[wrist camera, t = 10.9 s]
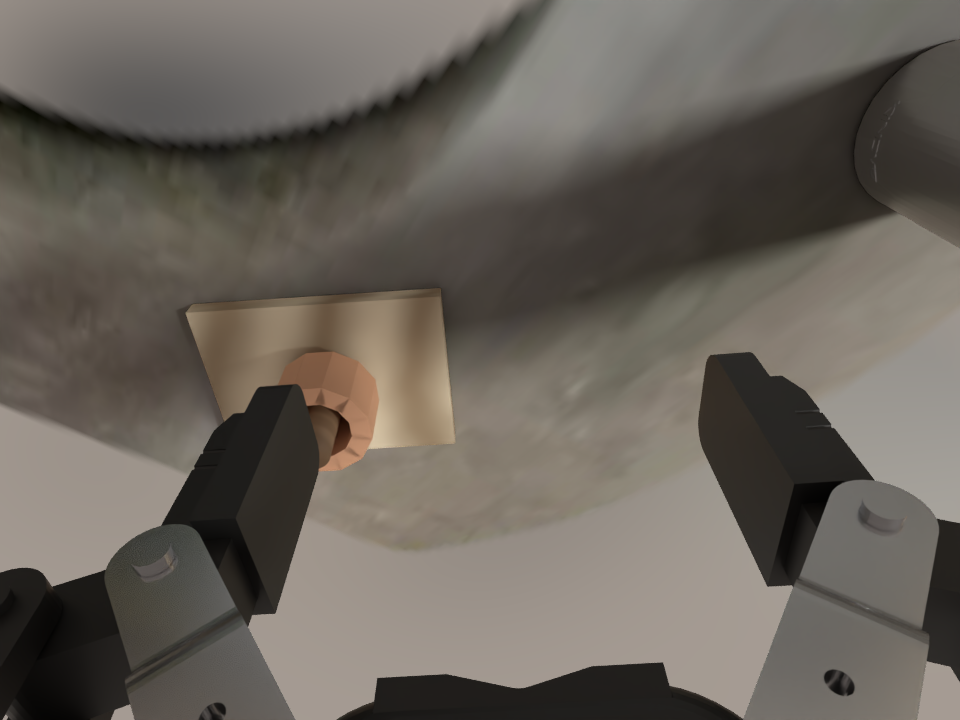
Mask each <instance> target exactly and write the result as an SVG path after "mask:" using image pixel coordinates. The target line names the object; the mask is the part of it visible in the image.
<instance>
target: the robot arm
mask: <svg viewBox="0 0 960 720" xmlns="http://www.w3.org/2000/svg"><path fill="white" fill-rule="evenodd" d="M854 160H855V169H856V172H857V176H858V179H859V181H860V183H861V184H862V186H863V187H864V189H865V190H866V192H867V193H868V194H869V195H871V196H872V197H873V198H874V199H876V200H877V201H879V202H880V203H882V204H884V205H886V206H887V207H889V208H891V209H893V210H894V211H896V212H898V213H900V214H901V215H903V216H905V217H907V218H908V219H910V220H912V221H914V222H915V223H917V224H918V225H920V226H922V227H923V228H925V229H927V230H929V231H931V232H932V233H934V234H936V235H938V236H939V237H941V238H943V239H945V240H946V241H948V242H950V243H952V244H953V245H955V246H957V247H959V248H960V39H959V40H956V41H952V42H948V43H945V44H941V45H939V46H937V47H934V48H932V49H930V50H928V51H926V52H924V53H922V54H920V55H919V56H917V57H916V58H914V59H913V60H912V61H910V62H909V63H907V64H906V65H904V66H903V67H902V68H901V69H900V70H899V71H898V72H897V73H896V74H895V75H893V76H892V77H891V78H890V79H889V80H888V81H887V82H886V83H885V85H884V86H883V87H882V89H881V90H880V91H879V92H878V94H877V95H876V96H875V97H874V99H873V100H872V102H871V104H870V106H869V108H868V109H867V111H866V113H865V115H864V116H863V119H862V122H861V125H860V127H859V130H858V133H857V137H856V143H855V149H854ZM698 428H699V437H700V442H701V445H702V448H703V451H704V453H705V455H706V457H707V459H708V461H709V464H710V466H711V468H712V470H713V472H714V474H715V476H716V478H717V481H718V482H719V485H720V487H721V489H722V491H723V493H724V495H725V498H726V499H727V502H728V504H729V506H730V508H731V510H732V512H733V514H734V517H735V519H736V521H737V523H738V525H739V527H740V529H741V531H742V533H743V535H744V538H745V540H746V542H747V544H748V546H749V548H750V550H751V553H752V555H753V557H754V559H755V561H756V563H757V565H758V567H759V570H760V572H761V574H762V576H763V578H764V580H765V582H766V584H767V586H768V587H769V586H786V585H792V586H793V589H792V592H791V594H790V597H789V600H788V603H787V605H786V608H785V610H784V613H783V616H782V618H781V621H780V623H779V626H778V629H777V631H776V634H775V637H774V639H773V642H772V645H771V648H770V650H769V653H768V655H767V658H766V661H765V663H764V666H763V668H762V671H761V674H760V676H759V679H758V682H757V684H756V687H755V690H754V692H753V695H752V698H751V700H750V703H749V706H748V708H747V711H746V714H745V716H744V719H742V718H741V717H739V716H738V715H736V714H735V713H734V712H732V711H730V710H728V709H727V708H725V707H723V706H722V705H720V704H718V703H716V702H714V701H712V700H710V699H708V698H705V697H703V696H701V695H699V694H696V693H693V692H690V691H687V690H684V689H681V688H676V687H672V686H669V683H668V679H667V676H666V672H665V668H664V665H663V663H645V664H627V665H609V666H592V667H589V668H586V669H582V670H580V671H576V672H573V673H570V674H567V675H564V676H561V677H558V678H555V679H552V680H549V681H545V682H542V683H539V684H536V685H533V686H530V687H526V688H519V689H517V688H510V687H505V686H501V685H496V684H491V683H486V682H481V681H476V680H471V679H467V678H462V677H457V676H452V675H447V674H444V675H425V676H407V677H391V678H390V677H388V678H377V686H376V692H375V700H374V702H372V703H369V704H366V705H364V706H361V707H359V708H357V709H355V710H353V711H351V712H348V713H347V714H345V715H343V716H342V717H340V718H338V719H337V720H917V716H918V710H919V704H920V698H921V692H922V686H923V680H924V674H925V668H926V662H927V661H929V662H933V663H937V664H941V665H946V666H950V667H951V668H952V670H953V671H954V673H955V675H956V676H957V678H958V680H959V681H960V523H956V522H950V521H945V520H940V519H936V517H935V516H934V514H933V513H932V511H931V510H930V509H929V508H928V507H927V506H926V505H925V504H924V503H923V502H922V501H921V500H919V499H918V498H916V497H915V496H913V495H912V494H910V493H908V492H907V491H904V490H902V489H900V488H898V487H895V486H892V485H890V484H886V483H882V482H878V481H875V480H874V479H873V477H872V476H871V475H870V474H869V472H868V471H867V470H866V469H865V467H864V466H863V465H862V463H861V462H860V461H859V460H858V458H857V457H856V456H855V454H854V453H853V452H852V450H851V449H850V448H849V447H848V445H847V444H846V443H845V442H844V440H843V439H842V438H841V437H840V435H839V434H838V432H837V431H836V430H835V429H834V428H831V423H830V422H829V421H828V419H827V418H826V417H825V416H824V415H823V413H820V412H819V408H818V407H817V405H816V404H815V403H814V401H813V400H812V399H811V398H810V396H809V395H808V394H807V392H806V391H805V390H803V389H802V388H800V387H799V386H797V385H795V384H794V383H792V382H791V381H789V380H788V379H786V378H785V377H783V376H771V377H770V376H769V375H768V373H767V372H766V370H765V369H764V368H763V366H762V365H761V363H760V362H759V361H758V359H757V358H756V356H755V355H754V354H753V353H751V352H746V353H732V354H718V355H710V356H709V358H708V359H707V362H706V368H705V375H704V382H703V389H702V397H701V404H700V411H699V420H698ZM194 467H195V469H194V470H192V471H191V473H190V475H189V477H188V478H187V480H186V482H185V484H184V486H183V487H182V489H181V491H180V493H179V495H178V496H177V498H176V500H175V502H174V503H173V505H172V507H171V509H170V511H169V513H168V514H167V516H166V518H165V520H164V522H163V523H162V525H161V526H159V527H156V528H153V529H150V530H148V531H146V532H144V533H142V534H140V535H138V536H136V537H135V538H133V539H132V540H130V541H129V542H128V543H126V544H125V545H124V546H123V547H122V548H120V549H119V550H118V552H117V553H116V554H115V555H114V556H113V558H112V559H111V560H110V562H109V564H108V566H107V569H106V570H104V571H101V572H98V573H95V574H92V575H88V576H85V577H82V578H79V579H75V580H72V581H69V582H66V583H63V584H59V585H56V586H53V587H52V586H51V585H50V583H49V582H48V580H47V579H46V577H45V576H44V575H43V573H41V572H40V571H38V570H36V569H31V568H17V569H11V570H8V571H4V572H1V573H0V720H2V719H3V718H4V716H5V714H6V715H7V716H8V719H7V720H111V717H112V715H113V713H114V710H115V709H118V708H121V707H124V706H126V705H129V704H130V705H131V708H132V712H133V715H134V719H135V720H295V718H294V716H293V715H292V712H291V711H290V709H289V707H288V705H287V703H286V701H285V699H284V697H283V695H282V693H281V691H280V689H279V687H278V685H277V683H276V681H275V679H274V677H273V675H272V674H271V671H270V670H269V668H268V666H267V664H266V662H265V660H264V658H263V656H262V654H261V652H260V650H259V648H258V646H257V644H256V642H255V640H254V638H253V636H252V634H251V632H250V631H249V629H248V625H249V622H250V620H251V616H252V615H258V614H275V613H276V610H277V606H278V603H279V600H280V597H281V593H282V590H283V587H284V583H285V580H286V577H287V573H288V571H289V567H290V564H291V561H292V557H293V554H294V551H295V548H296V544H297V541H298V538H299V535H300V531H301V528H302V525H303V521H304V518H305V515H306V512H307V508H308V505H309V502H310V499H311V495H312V492H313V489H314V485H315V482H316V479H317V476H318V471H319V448H318V443H317V439H316V436H315V432H314V429H313V425H312V422H311V418H310V415H309V412H308V408H307V405H306V401H305V398H304V394H303V391H302V389H301V387H300V386H299V385H298V384H289V385H275V386H262V387H258V388H257V389H256V391H255V393H254V395H253V397H252V399H251V401H250V403H249V405H248V407H247V409H246V411H245V412H244V413H234V414H232V415H231V416H230V417H229V418H228V419H227V420H226V421H225V422H223V423H222V424H221V425H220V426H219V427H218V428H217V429H216V430H214V432H213V433H212V435H211V437H210V439H209V441H208V442H207V444H206V446H205V448H204V450H203V454H201V455H200V457H199V459H198V460H197V462H196V464H195V466H194Z"/></svg>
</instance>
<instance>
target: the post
mask: <svg viewBox="0 0 960 720" xmlns="http://www.w3.org/2000/svg"><path fill="white" fill-rule="evenodd" d="M341 355H342V354H341ZM346 357H347V356H346ZM307 408H308V412H309V415H310V418H311V422H312V425H313V429H314V432H315V436H316V439H317V443H318V448H319V468H322V467H324V466H325V465H326V464H327V463H328V462H329V460H330V457H331V453H332V449H333V445H334V441H335V437H336V433H337V429H338V426H339V422H340V418H341V417H342V415H341V414H340V413H339V412H338V411H336V410H333V409H330V408H327V407H325V406H322V405H310V406H307Z"/></svg>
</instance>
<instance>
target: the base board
mask: <svg viewBox="0 0 960 720" xmlns="http://www.w3.org/2000/svg"><path fill="white" fill-rule="evenodd" d="M186 316H187V319H188V322H189V324H190V327H191V330H192V333H193V336H194V338H195V341H196V344H197V347H198V350H199V352H200V355H201V358H202V361H203V364H204V366H205V369H206V372H207V375H208V378H209V380H210V383H211V386H212V389H213V392H214V394H215V397H216V400H217V403H218V406H219V408H220V411H221V414H222V417H223V420H224V422H225V421H226V420H227V419H228V418H229V417H230V416H231V415H232V414H234V413H244V412H245V411H246V409H247V407H248V405H249V403H250V401H251V399H252V397H253V395H254V393H255V391H256V389H257V388H258V387H262V386H275V385H278V383H279V381H280V379H281V376H282V374H283V371H284V369H285V367H286V366H287V365H288V364H290V363H291V362H293V361H294V360H296V359H298V358H299V357H301V356H302V355H304V354H306V353H316V352H332V351H333V352H336V353H338V354H342V355H344V356H347V357H349V358H351V359H354V360H357V361H359V362H360V363H361V364H362V365H363V367H364V368H365V369H366V370H367V371H368V372H369V373H370V374H371V375H372V376H373V377H374V378H375V380H376V386H377V391H378V397H379V404H378V410H377V416H376V421H375V427H374V433H373V438H372V441H371V443H370V445H369V447H368V448H367V449H375V448H390V447H406V446H422V445H437V444H453V443H455V425H454V415H453V405H452V395H451V385H450V376H449V366H448V356H447V346H446V336H445V326H444V316H443V306H442V296H441V288H432V289H417V290H402V291H386V292H371V293H355V294H340V295H325V296H309V297H294V298H278V299H263V300H248V301H232V302H217V303H202V304H192V305H191V306H190V308H189V309H188V310H187V312H186Z"/></svg>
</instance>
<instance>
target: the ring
mask: <svg viewBox="0 0 960 720" xmlns="http://www.w3.org/2000/svg"><path fill="white" fill-rule="evenodd" d="M289 384H298V385H299V386H300V387H301V389H302V391H303V394H304V398H305V401H306V405H307V406H310V405H322V406H325V407H327V408H330V409H333V410H336V411H338V412H339V413H340V414H341V415H342V417H341V418H340V422H339V426H338V429H337V433H336V437H335V441H334V445H333V449H332V453H331V457H330V460H329V462H328V463H327V464H326V465H325V466H324V467H322V468H319V471H332V470H342V469H344V468H346V467H347V466H349V465H351V464H353V463H355V462H356V461H358V460H360V459H362V458H363V456H364V454H365V452H366V450H367V448H368V447H369V445H370V443H371V441H372V438H373V433H374V427H375V421H376V416H377V410H378V404H379V397H378V391H377V386H376V380H375V378H374V377H373V376H372V375H371V374H370V373H369V372H368V371H367V370H366V369H365V368H364V367H363V365H362V364H361V363H360V362H359V361H357V360H354V359H351V358H349V357H346V356H344V355H341V354H338V353H336V352H333V351H332V352H316V353H306V354H304V355H302V356H301V357H299V358H298V359H296V360H294V361H293V362H291V363H290V364H288V365H287V366H286V367H285V369H284V371H283V374H282V376H281V379H280V381H279V383H278V385H289Z"/></svg>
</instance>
